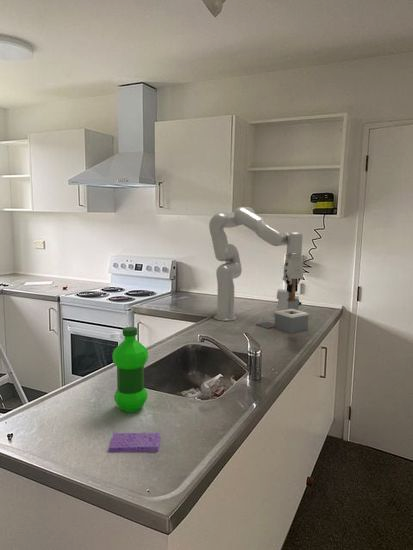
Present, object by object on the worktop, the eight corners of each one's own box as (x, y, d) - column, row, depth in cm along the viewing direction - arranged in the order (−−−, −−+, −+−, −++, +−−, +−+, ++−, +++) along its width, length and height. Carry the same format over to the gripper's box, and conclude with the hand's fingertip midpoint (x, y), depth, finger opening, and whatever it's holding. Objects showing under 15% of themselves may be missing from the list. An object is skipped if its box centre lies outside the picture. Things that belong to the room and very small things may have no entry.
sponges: (158, 453, 105) (158, 446, 105) (107, 453, 105) (107, 446, 104) (160, 438, 112) (160, 431, 112) (113, 438, 112) (113, 432, 111)
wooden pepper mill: (285, 301, 218) (286, 274, 216) (291, 300, 220) (293, 273, 218) (291, 302, 214) (293, 275, 212) (297, 301, 217) (299, 275, 214)
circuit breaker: (300, 317, 243) (302, 292, 241) (276, 316, 246) (276, 291, 244) (300, 315, 250) (301, 290, 248) (276, 313, 253) (277, 289, 251)
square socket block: (274, 328, 221) (275, 311, 219) (290, 324, 227) (291, 308, 226) (291, 333, 211) (291, 316, 210) (307, 330, 217) (308, 313, 216)
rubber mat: (255, 324, 226) (255, 324, 226) (268, 322, 231) (268, 321, 231) (266, 328, 219) (266, 327, 219) (279, 326, 224) (279, 325, 224)
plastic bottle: (155, 407, 129) (154, 328, 125) (127, 419, 121) (125, 335, 117) (134, 397, 135) (133, 322, 132) (106, 408, 127) (105, 329, 124)
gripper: (287, 257, 206) (285, 294, 209) (310, 256, 215) (308, 291, 218) (276, 256, 212) (275, 291, 215) (299, 254, 221) (297, 289, 224)
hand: (291, 291), depth 216 cm, fingers closed on wooden pepper mill, 3 cm apart
